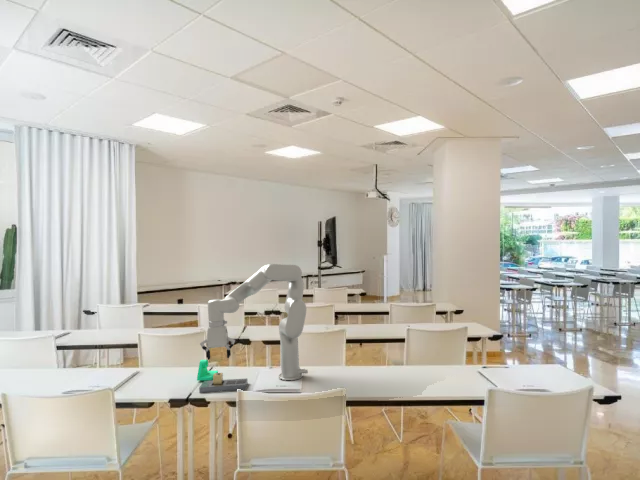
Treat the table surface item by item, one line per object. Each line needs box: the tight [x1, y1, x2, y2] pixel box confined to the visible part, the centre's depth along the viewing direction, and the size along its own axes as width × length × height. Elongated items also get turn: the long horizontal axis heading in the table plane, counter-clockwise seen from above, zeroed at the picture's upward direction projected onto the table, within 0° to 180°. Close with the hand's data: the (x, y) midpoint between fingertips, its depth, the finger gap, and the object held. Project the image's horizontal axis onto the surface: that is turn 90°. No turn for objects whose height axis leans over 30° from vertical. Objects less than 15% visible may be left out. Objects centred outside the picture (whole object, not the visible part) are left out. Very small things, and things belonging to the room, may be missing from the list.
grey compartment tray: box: [198, 377, 249, 394], centre depth 194 cm, size 22×10×3 cm, turn 94°
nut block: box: [213, 372, 224, 385], centre depth 194 cm, size 4×4×7 cm
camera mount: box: [196, 359, 219, 381], centre depth 210 cm, size 12×8×10 cm, turn 177°
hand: (218, 358), depth 194 cm, fingers open, 9 cm apart
